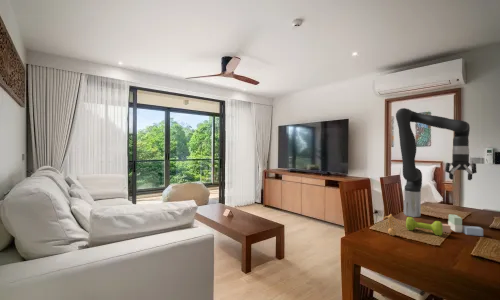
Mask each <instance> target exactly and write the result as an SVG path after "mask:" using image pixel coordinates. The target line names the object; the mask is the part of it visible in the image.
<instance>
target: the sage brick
mask: <svg viewBox="0 0 500 300" xmlns="http://www.w3.org/2000/svg"><path fill="white" fill-rule="evenodd" d="M448 221H449V222H451V223H453V224H454V225H463V219H462V217H460V216H459V215H457V214H451V213H450V214H448Z"/></svg>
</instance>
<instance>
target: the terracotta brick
mask: <svg viewBox="0 0 500 300" xmlns="http://www.w3.org/2000/svg"><path fill="white" fill-rule="evenodd" d="M442 225H443V233H445V232H446V233H448V234H451V233H452V231H451V226H450V225H448V223H442ZM446 233H445V234H446Z"/></svg>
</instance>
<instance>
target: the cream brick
mask: <svg viewBox="0 0 500 300" xmlns="http://www.w3.org/2000/svg"><path fill="white" fill-rule="evenodd" d="M447 224H448V225H450V226H451V230H452V231H453V232H455V233H463V226H464V225H463V224H462V225H454V224H453V223H451V222H449V220H447Z"/></svg>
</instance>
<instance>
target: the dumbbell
mask: <svg viewBox="0 0 500 300" xmlns="http://www.w3.org/2000/svg"><path fill="white" fill-rule="evenodd" d="M442 224H443V223H442V221H439V220H435V221H433V222H432V223H431V224H430V223H425V222H417V221H416V220H415V217H411V216H406V220H405V228H406V230H407V231H409V232H410V231H414V230H415V229H416V228H418V229H424V230H429V231H432V233H434V235H435V236H438V235H439V236H438V237H442V236H443V233H444V232H443V225H442Z"/></svg>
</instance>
